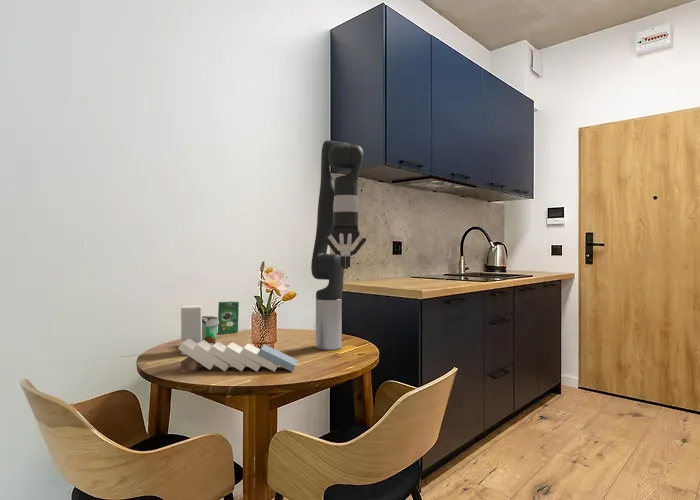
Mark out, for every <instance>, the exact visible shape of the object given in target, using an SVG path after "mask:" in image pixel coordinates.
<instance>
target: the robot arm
mask: <svg viewBox="0 0 700 500" xmlns="http://www.w3.org/2000/svg"><path fill="white" fill-rule="evenodd" d="M320 158H321V159H320V160H321V161H320V185H319V193H318V202H317V203H318V204H317V215H316V217H317V219H316V231H315V240H314V246H313V251H312V257H311V265H310V266H311V267H310V269H311V275H312V277H313V278H314V279H316V280H323V281H324V280H326V281H328V284H327V285H326V286H325V287H322V288H321V289H318V290H316V293H315V348H316V349H319V350H326V351H329V350H338V349H341V348H342V331H343V330H342V328H343V327H342V323H343V322H342V320H343V319H342V317H343V316H342V312H343V310H342V309H343V308H342V306H343V305H342V303H343V300H342V297H343V291H344V277H345V276H344V274H345V270H348V269H349V268H350V267H351V256H354V255H356V254H357V253H358V251H359V250H360V249H361V248H362V247H363V245H364V244H365V243H366V241H367V238H366V237H363V235H361V234H360V230H359V200H358V199H359V198H358V182H359V175H360V172H361V168H362V165H363V161H364V149H363V148H362V147H361V146H360V145H359V144H358V145H356V144H350V143H348V142H344V141H336V140H335V141H334V140H325V141H324V142H323V143H322V147H321V157H320ZM330 167H331V168H333V169H342V170H343V169H346V170H347V169H351V171H350V173H348V174H345V175H338V176H337V177H336V178H335V179H333V175H332V173H331V168H330ZM334 240H335V242H336V243H337V244H338V245H339V249H340V250H338V249H337V247H336V246H335V245H334V244H333V242H334ZM355 241H357V242H358V244H356V246H355V247H354V249H353V250H351V249H352V245H353V244H354V243H355ZM345 245H346V252H345ZM328 246H329V248H331V250H332V252H333V253H327V252H328ZM345 253H346V254H345Z"/></svg>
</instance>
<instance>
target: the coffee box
mask: <svg viewBox="0 0 700 500" xmlns="http://www.w3.org/2000/svg"><path fill="white" fill-rule="evenodd" d="M239 302H240V301H237V300H235V301H218V308H217V311H218V312H217V318H218V320H219V324H218V325H217V334H218V333H219V334H218V335H225V333H226V334H235V333H236V332H237V333H239V313H240V312H239V307H240V305H239V304H240V303H239Z"/></svg>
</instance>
